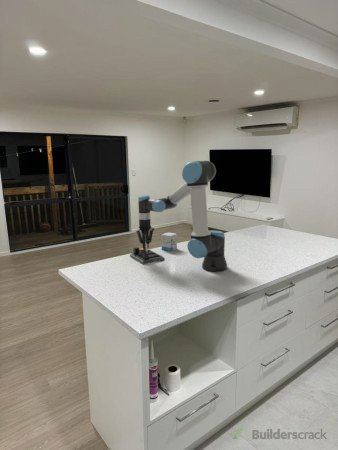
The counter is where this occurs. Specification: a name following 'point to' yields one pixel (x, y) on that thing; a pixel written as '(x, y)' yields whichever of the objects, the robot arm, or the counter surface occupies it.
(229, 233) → the counter surface
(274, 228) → the counter surface
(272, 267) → the counter surface
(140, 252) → the handle
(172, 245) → the ink box
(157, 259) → the panel
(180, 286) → the counter surface
